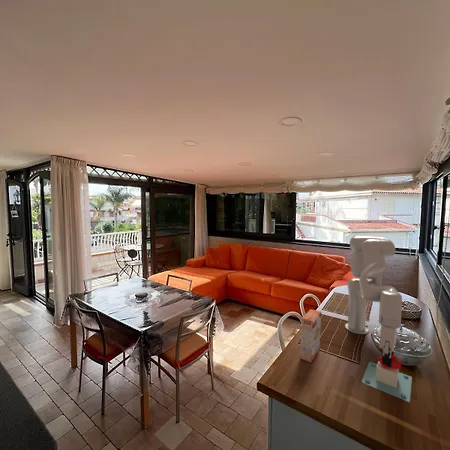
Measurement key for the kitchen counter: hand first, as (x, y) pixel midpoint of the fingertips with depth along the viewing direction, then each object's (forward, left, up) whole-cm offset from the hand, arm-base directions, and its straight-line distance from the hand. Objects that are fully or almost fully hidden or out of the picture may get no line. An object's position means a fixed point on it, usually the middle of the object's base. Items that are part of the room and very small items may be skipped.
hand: (387, 361), depth 100 cm
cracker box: (+2, -32, -9) cm, 33 cm away
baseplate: (0, 0, -9) cm, 9 cm away
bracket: (0, +1, -1) cm, 1 cm away
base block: (0, 0, -8) cm, 8 cm away
